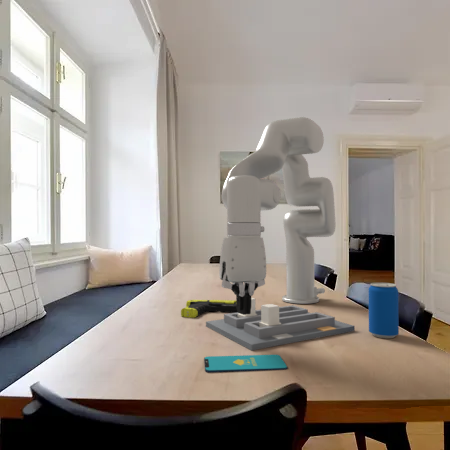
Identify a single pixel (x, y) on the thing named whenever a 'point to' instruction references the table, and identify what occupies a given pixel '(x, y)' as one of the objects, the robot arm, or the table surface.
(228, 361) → the smartphone
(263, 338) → the switch board
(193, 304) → the stun gun
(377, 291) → the beverage can
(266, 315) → the tab
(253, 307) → the tab
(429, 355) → the table surface
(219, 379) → the table surface
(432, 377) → the table surface
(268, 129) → the robot arm
